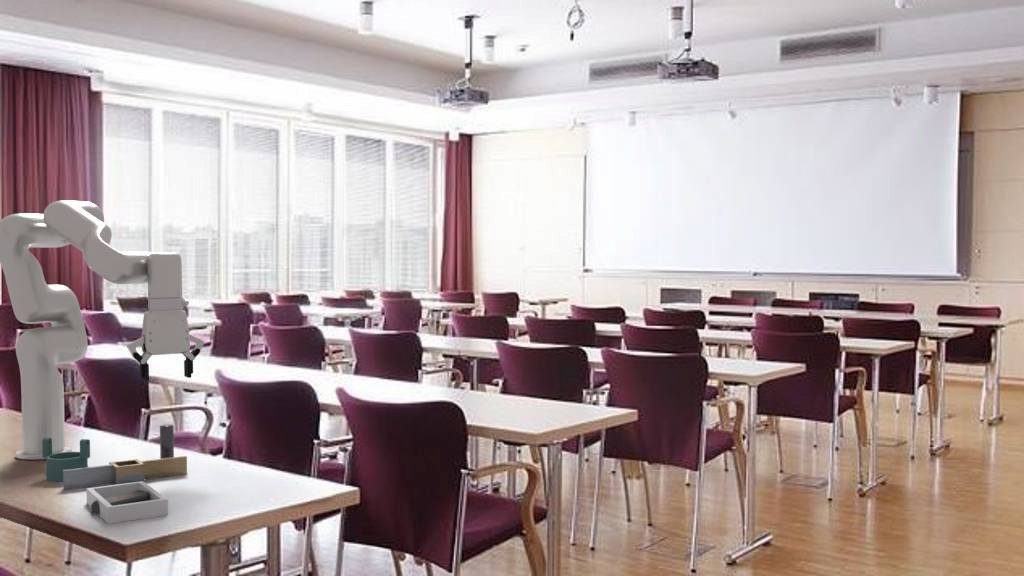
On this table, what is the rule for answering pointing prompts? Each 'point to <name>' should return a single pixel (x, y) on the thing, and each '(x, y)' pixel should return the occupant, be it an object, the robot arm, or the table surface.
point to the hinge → (124, 472)
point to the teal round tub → (64, 459)
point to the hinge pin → (166, 441)
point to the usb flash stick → (122, 499)
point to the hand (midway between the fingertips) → (167, 378)
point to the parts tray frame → (127, 511)
